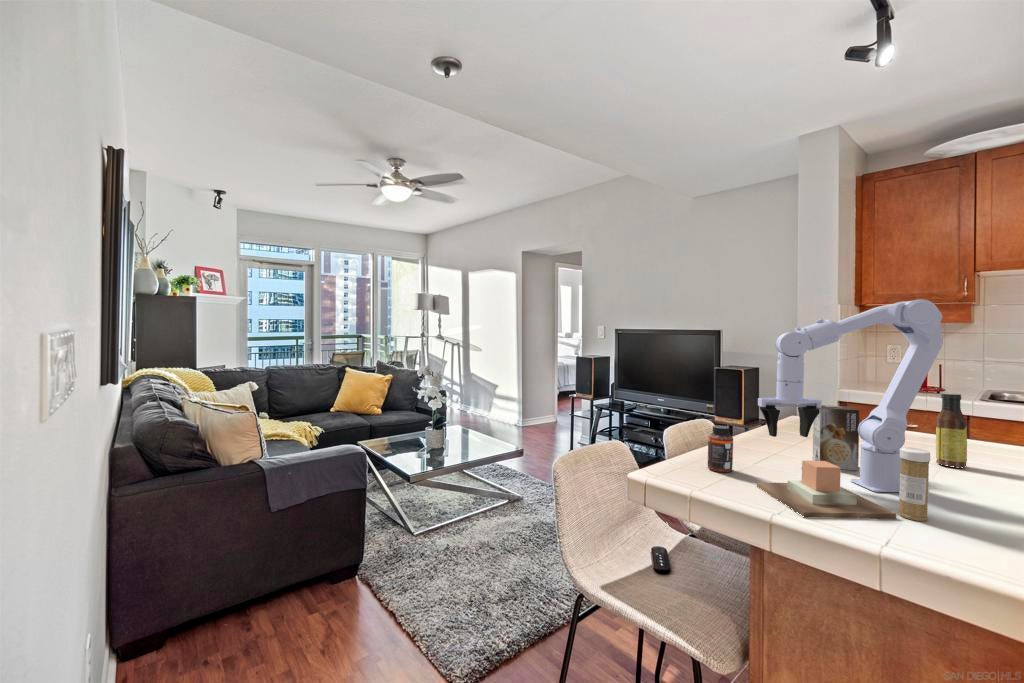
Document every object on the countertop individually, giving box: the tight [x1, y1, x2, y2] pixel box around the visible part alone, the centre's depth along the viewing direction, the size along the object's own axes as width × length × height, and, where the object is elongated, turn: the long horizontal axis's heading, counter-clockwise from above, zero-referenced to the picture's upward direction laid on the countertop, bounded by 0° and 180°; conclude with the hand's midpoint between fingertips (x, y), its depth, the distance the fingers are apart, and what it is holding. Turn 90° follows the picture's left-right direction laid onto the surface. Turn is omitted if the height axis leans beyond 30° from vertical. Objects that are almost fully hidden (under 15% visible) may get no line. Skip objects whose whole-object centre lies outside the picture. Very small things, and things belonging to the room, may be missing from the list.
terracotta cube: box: [801, 460, 842, 491], centre depth 102 cm, size 5×5×5 cm
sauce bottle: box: [935, 392, 968, 468], centre depth 130 cm, size 7×6×20 cm
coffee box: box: [811, 404, 860, 471], centre depth 129 cm, size 9×6×16 cm
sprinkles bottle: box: [897, 446, 931, 522], centre depth 94 cm, size 5×5×14 cm
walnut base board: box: [756, 479, 897, 520], centre depth 102 cm, size 18×18×3 cm
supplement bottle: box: [707, 424, 734, 473], centre depth 124 cm, size 6×6×11 cm
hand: (788, 436), depth 118 cm, fingers open, 7 cm apart
